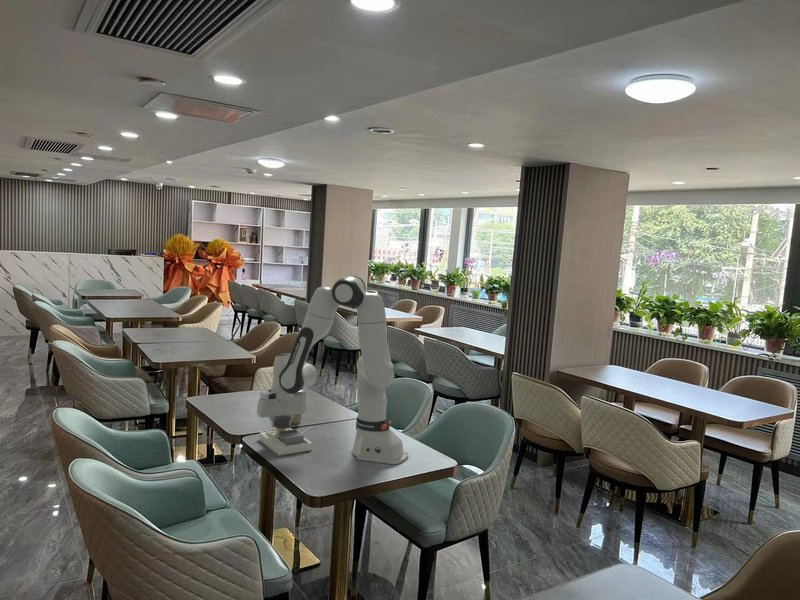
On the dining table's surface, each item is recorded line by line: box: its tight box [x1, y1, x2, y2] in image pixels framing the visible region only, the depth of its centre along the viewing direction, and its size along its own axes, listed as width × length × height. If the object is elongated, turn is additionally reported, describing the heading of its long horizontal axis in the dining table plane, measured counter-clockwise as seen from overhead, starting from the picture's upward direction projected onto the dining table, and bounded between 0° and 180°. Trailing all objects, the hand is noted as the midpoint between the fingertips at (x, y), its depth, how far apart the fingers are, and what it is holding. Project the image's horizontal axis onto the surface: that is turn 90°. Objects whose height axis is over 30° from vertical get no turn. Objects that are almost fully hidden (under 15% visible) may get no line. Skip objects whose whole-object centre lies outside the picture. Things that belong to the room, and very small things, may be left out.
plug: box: [273, 415, 290, 435], centre depth 238 cm, size 5×5×7 cm
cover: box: [278, 428, 305, 445], centre depth 231 cm, size 7×8×3 cm
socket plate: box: [258, 427, 313, 456], centre depth 235 cm, size 20×14×4 cm
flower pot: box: [287, 413, 303, 425], centre depth 266 cm, size 9×9×9 cm
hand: (281, 425), depth 238 cm, fingers closed on plug, 5 cm apart
